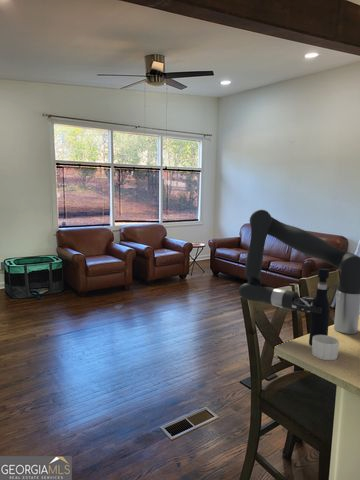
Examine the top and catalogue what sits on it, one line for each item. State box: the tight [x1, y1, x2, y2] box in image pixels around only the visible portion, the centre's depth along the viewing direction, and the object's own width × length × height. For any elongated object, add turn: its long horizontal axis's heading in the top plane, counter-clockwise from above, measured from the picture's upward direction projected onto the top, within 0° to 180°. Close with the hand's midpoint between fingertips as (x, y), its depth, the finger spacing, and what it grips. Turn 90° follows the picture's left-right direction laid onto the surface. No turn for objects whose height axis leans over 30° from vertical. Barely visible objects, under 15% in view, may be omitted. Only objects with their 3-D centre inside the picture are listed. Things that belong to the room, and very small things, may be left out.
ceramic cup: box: [311, 335, 340, 361], centre depth 125 cm, size 8×8×6 cm
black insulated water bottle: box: [308, 267, 331, 347], centre depth 132 cm, size 6×6×30 cm
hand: (325, 308), depth 131 cm, fingers open, 8 cm apart
